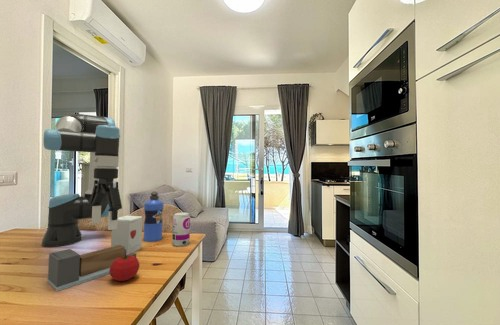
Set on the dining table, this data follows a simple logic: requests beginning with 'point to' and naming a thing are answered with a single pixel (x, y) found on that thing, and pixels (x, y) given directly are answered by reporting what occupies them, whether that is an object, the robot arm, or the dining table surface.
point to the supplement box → (128, 233)
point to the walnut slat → (99, 259)
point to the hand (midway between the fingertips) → (103, 226)
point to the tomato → (124, 268)
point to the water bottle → (153, 219)
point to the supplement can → (181, 229)
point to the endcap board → (69, 270)
